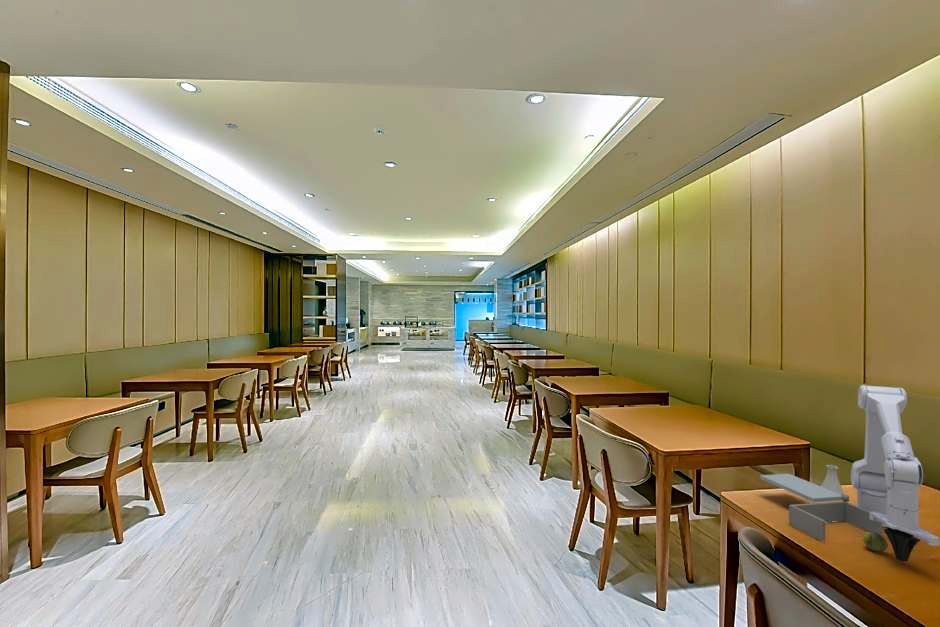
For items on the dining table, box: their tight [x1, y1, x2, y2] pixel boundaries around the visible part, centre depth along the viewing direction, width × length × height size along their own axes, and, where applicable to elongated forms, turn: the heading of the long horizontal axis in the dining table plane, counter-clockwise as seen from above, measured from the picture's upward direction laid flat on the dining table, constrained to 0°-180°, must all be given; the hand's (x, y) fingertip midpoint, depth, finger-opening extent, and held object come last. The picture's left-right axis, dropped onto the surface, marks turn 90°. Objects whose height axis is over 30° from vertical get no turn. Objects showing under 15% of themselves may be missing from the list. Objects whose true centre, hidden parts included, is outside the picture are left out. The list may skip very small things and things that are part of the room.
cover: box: [759, 473, 850, 503], centre depth 148 cm, size 21×13×1 cm, turn 10°
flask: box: [820, 464, 845, 495], centre depth 160 cm, size 7×7×10 cm
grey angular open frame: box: [788, 500, 883, 542], centre depth 132 cm, size 20×11×6 cm, turn 100°
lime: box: [862, 531, 889, 553], centre depth 121 cm, size 4×5×5 cm
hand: (901, 559), depth 115 cm, fingers closed
